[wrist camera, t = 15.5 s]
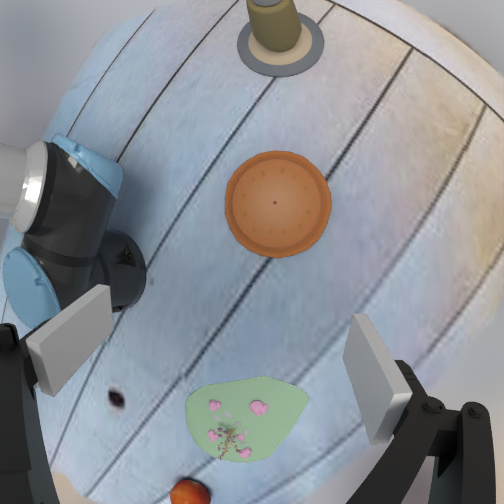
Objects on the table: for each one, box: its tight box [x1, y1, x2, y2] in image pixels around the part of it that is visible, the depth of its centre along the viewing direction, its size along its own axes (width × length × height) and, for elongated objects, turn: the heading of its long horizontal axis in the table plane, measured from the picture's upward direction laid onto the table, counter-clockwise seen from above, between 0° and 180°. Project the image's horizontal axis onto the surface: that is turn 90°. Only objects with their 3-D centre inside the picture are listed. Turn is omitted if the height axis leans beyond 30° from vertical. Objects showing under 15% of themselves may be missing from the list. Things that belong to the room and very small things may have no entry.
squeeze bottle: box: [246, 0, 302, 52], centre depth 36 cm, size 8×8×18 cm
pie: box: [225, 151, 331, 258], centre depth 45 cm, size 15×16×5 cm
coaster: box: [237, 12, 324, 77], centre depth 45 cm, size 15×15×1 cm
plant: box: [185, 376, 309, 463], centre depth 48 cm, size 25×21×9 cm
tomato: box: [170, 480, 211, 504], centre depth 53 cm, size 9×9×8 cm
